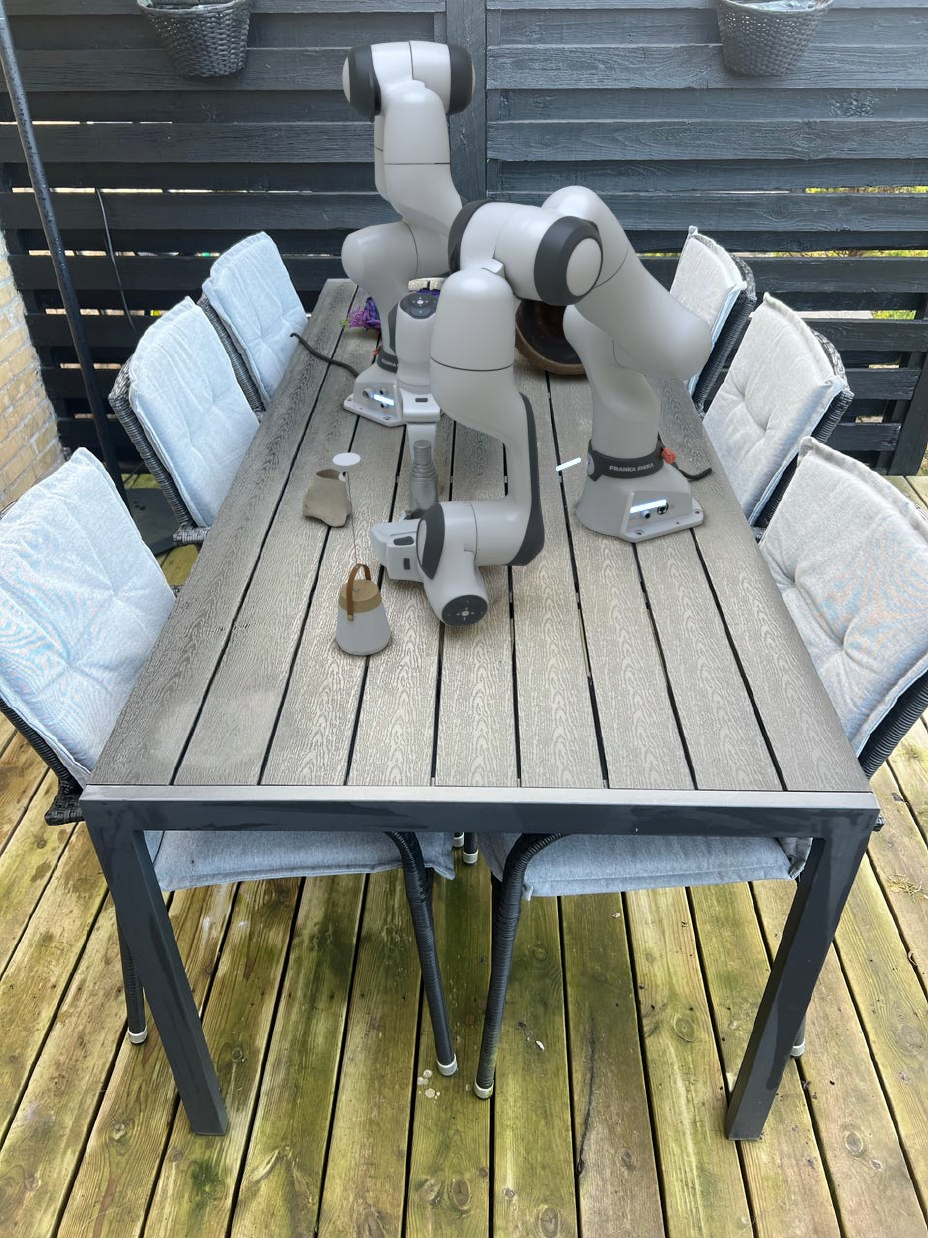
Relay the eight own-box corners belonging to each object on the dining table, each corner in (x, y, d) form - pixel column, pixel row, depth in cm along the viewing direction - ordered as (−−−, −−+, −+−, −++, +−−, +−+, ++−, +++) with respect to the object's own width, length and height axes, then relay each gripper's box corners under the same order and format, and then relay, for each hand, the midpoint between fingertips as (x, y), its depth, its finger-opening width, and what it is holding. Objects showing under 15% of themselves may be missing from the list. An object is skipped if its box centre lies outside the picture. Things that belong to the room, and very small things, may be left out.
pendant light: (377, 661, 135) (361, 478, 117) (326, 649, 137) (303, 468, 119) (399, 628, 141) (388, 450, 123) (351, 617, 143) (332, 440, 125)
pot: (527, 218, 229) (547, 194, 200) (639, 277, 234) (675, 262, 205) (471, 342, 235) (483, 336, 206) (582, 397, 240) (609, 398, 211)
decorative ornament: (459, 312, 230) (337, 314, 227) (457, 347, 238) (340, 349, 236) (454, 280, 238) (336, 281, 235) (453, 315, 246) (339, 317, 244)
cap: (416, 486, 176) (416, 475, 174) (436, 483, 177) (436, 471, 176) (423, 496, 173) (423, 485, 171) (444, 492, 174) (443, 481, 173)
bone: (352, 523, 169) (358, 468, 167) (345, 530, 162) (351, 474, 159) (303, 516, 169) (308, 461, 167) (294, 523, 162) (299, 466, 159)
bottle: (446, 540, 161) (444, 441, 150) (429, 553, 158) (425, 453, 146) (423, 531, 163) (419, 433, 152) (405, 544, 160) (400, 445, 149)
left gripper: (406, 366, 171) (409, 433, 180) (402, 417, 155) (405, 488, 164) (440, 366, 171) (441, 433, 180) (440, 417, 155) (440, 488, 164)
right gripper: (505, 529, 147) (482, 487, 158) (377, 546, 143) (363, 502, 154) (504, 562, 151) (482, 519, 162) (380, 580, 147) (366, 535, 158)
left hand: (424, 460), depth 172 cm, fingers open, 8 cm apart
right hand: (423, 511), depth 158 cm, fingers closed on bottle, 5 cm apart
